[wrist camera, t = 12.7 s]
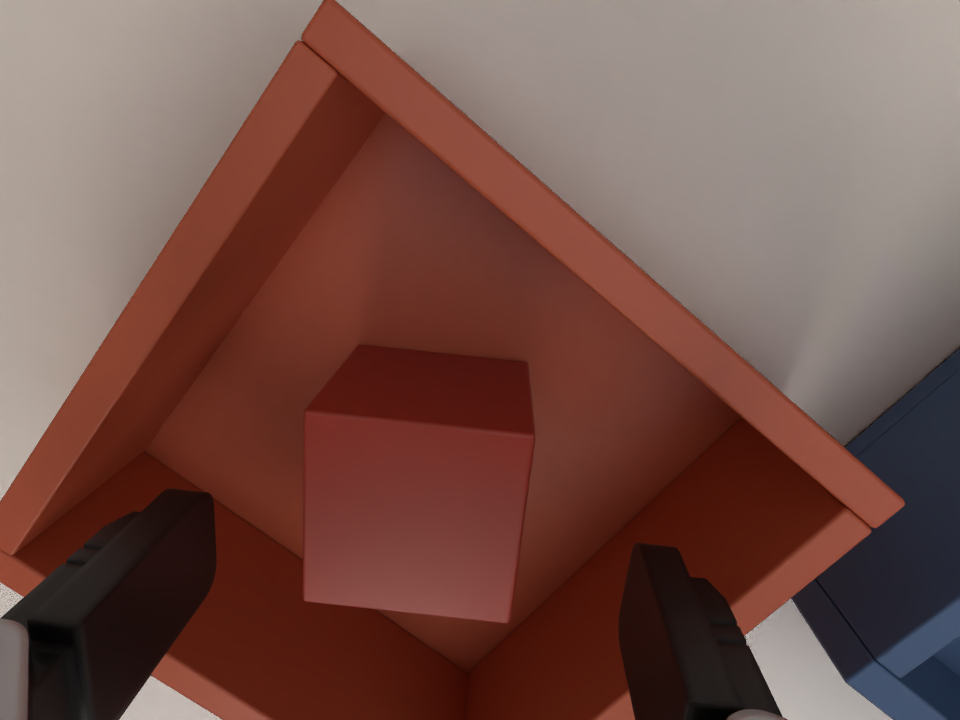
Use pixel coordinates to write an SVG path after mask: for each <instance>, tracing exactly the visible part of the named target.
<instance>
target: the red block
mask: <svg viewBox="0 0 960 720" xmlns="http://www.w3.org/2000/svg"><path fill="white" fill-rule="evenodd" d="M534 444H535V427H534V417H533V407H532V396H531V386H530V376H529V366H528V363H526V362H520V361H510V360H501V359H491V358H481V357H472V356H462V355H453V354H443V353H434V352H424V351H415V350H405V349H395V348H386V347H376V346H367V345H358V346H357V347H356V348H355V349H354V350H353V352H352V353H351V354H350V355H349V356H348V358H347V359H346V360H345V361H344V363H343V364H342V365H341V366H340V367H339V369H338V370H337V371H336V372H335V374H334V375H333V376H332V377H331V379H330V380H329V381H328V382H327V383H326V385H325V386H324V387H323V388H322V390H321V391H320V392H319V393H318V394H317V396H316V397H315V398H314V399H313V401H312V402H311V403H310V404H309V405H308V407H307V408H306V409H305V411H304V445H303V600H304V601H305V602H313V603H322V604H331V605H340V606H349V607H358V608H367V609H376V610H385V611H394V612H403V613H413V614H422V615H431V616H440V617H449V618H458V619H467V620H476V621H485V622H494V623H503V624H507V623H509V622H510V620H511V613H512V606H513V599H514V591H515V584H516V577H517V569H518V562H519V555H520V547H521V540H522V533H523V525H524V518H525V510H526V503H527V496H528V488H529V481H530V474H531V466H532V459H533V452H534Z"/></svg>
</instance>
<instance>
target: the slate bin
mask: <svg viewBox="0 0 960 720" xmlns="http://www.w3.org/2000/svg"><path fill="white" fill-rule="evenodd" d="M845 448H846V449H847V450H848V451H849V452H850V453H851V454H853V455H854V456H855V457H856V458H857V459H858V460H859V461H861V462H862V463H863V464H864V465H865V466H866V467H867V468H869V469H870V470H871V471H872V472H873V473H874V474H875V475H877V476H878V477H879V478H880V479H881V480H882V481H883V482H884V483H886V484H887V485H888V486H889V487H890V488H891V489H892V490H894V491H895V492H896V493H897V494H898V495H899V496H900V497H902V498H903V499H904V502H905V505H904V507H902V508H901V509H900V510H899V511H898V512H896V513H895V514H894V515H893V516H891V517H890V518H889V519H888V520H886V521H885V522H884V523H883V524H881V525H880V526H879V527H877V528H872V527H870V528H871V531H872V532H871V533H870V534H869V535H868V536H867V537H866V538H864V539H863V540H862V541H861V542H859V543H858V544H857V545H856V546H855V547H853V548H852V549H851V550H850V551H848V552H847V553H846V554H845V555H843V556H842V557H841V558H840V559H838V560H837V561H836V562H835V563H834V564H832V565H831V566H830V567H829V568H827V569H826V570H825V571H824V572H822V573H821V574H820V575H819V576H817V577H816V578H815V579H814V580H813V581H811V582H810V583H809V584H808V585H806V586H805V587H804V588H803V589H801V590H800V591H799V592H798V593H796V594H795V595H794V596H793V597H792V598H791V599H792V600H793V602H794V603H795V605H796V607H797V608H798V610H799V611H800V613H801V614H802V616H803V617H804V619H805V620H806V622H807V624H808V625H809V627H810V628H811V630H812V631H813V633H814V634H815V636H816V638H817V639H818V641H819V642H820V644H821V645H822V647H823V648H824V650H825V651H826V653H827V655H828V656H829V658H830V659H831V661H832V662H833V664H834V665H835V667H836V668H837V670H838V672H839V673H840V675H841V676H842V678H843V679H844V681H845V682H846V683H847V684H848V685H850V686H851V687H852V688H853V689H855V690H856V691H857V692H859V693H860V694H861V695H862V696H864V697H865V698H866V699H867V700H869V701H870V702H871V703H873V704H874V705H875V706H876V707H878V708H879V709H880V710H881V711H883V712H884V713H885V714H887V715H888V716H889V717H890V718H892V719H893V720H960V348H959V349H958V350H957V351H956V352H954V353H953V354H952V355H951V356H950V357H949V358H948V359H946V360H945V361H944V362H943V363H942V364H941V365H939V366H938V367H937V368H936V369H935V370H934V371H933V372H931V373H930V374H929V375H928V376H927V377H926V378H925V379H923V380H922V381H921V382H920V383H919V384H918V385H916V386H915V387H914V388H913V389H912V390H911V391H910V392H908V393H907V394H906V395H905V396H904V397H903V398H901V399H900V400H899V401H898V402H897V403H896V404H895V405H893V406H892V407H891V408H890V409H889V410H888V411H886V412H885V413H884V414H883V415H882V416H881V417H880V418H878V419H877V420H876V421H875V422H874V423H873V424H871V425H870V426H869V427H868V428H867V429H866V430H865V431H863V432H862V433H861V434H860V435H859V436H858V437H857V438H855V439H854V440H853V441H852V442H851V443H850V444H848V445H847V446H846V447H845Z"/></svg>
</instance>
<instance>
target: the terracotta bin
mask: <svg viewBox="0 0 960 720" xmlns="http://www.w3.org/2000/svg"><path fill="white" fill-rule="evenodd" d="M301 39H302V40H303V42H302V41H299V40H298V41H297V42H296V43H295V44H294V46H293V47H292V49H291V50H290V52H289V54H288V55H287V57H286V58H285V60H284V61H283V63H282V64H281V66H280V67H279V69H278V71H277V72H276V74H275V75H274V77H273V78H272V80H271V81H270V83H269V85H268V86H267V88H266V89H265V91H264V92H263V94H262V95H261V97H260V99H259V100H258V102H257V103H256V105H255V106H254V108H253V109H252V111H251V113H250V114H249V116H248V117H247V119H246V120H245V122H244V123H243V125H242V127H241V128H240V130H239V131H238V133H237V134H236V136H235V137H234V139H233V141H232V142H231V144H230V145H229V147H228V148H227V150H226V151H225V153H224V155H223V156H222V158H221V159H220V161H219V162H218V164H217V165H216V167H215V169H214V170H213V172H212V173H211V175H210V176H209V178H208V179H207V181H206V183H205V184H204V186H203V187H202V189H201V190H200V192H199V193H198V195H197V197H196V198H195V200H194V201H193V203H192V204H191V206H190V207H189V209H188V211H187V212H186V214H185V215H184V217H183V218H182V220H181V221H180V223H179V225H178V226H177V228H176V229H175V231H174V232H173V234H172V235H171V237H170V239H169V240H168V242H167V243H166V245H165V246H164V248H163V249H162V251H161V253H160V254H159V256H158V257H157V259H156V260H155V262H154V263H153V265H152V267H151V268H150V270H149V271H148V273H147V274H146V276H145V277H144V279H143V281H142V282H141V284H140V285H139V287H138V288H137V290H136V291H135V293H134V295H133V296H132V298H131V299H130V301H129V302H128V304H127V305H126V307H125V309H124V310H123V312H122V313H121V315H120V316H119V318H118V319H117V321H116V323H115V324H114V326H113V327H112V329H111V330H110V332H109V333H108V335H107V337H106V338H105V340H104V341H103V343H102V344H101V346H100V347H99V349H98V351H97V352H96V354H95V355H94V357H93V358H92V360H91V361H90V363H89V365H88V366H87V368H86V369H85V371H84V372H83V374H82V375H81V377H80V379H79V380H78V382H77V383H76V385H75V386H74V388H73V389H72V391H71V393H70V394H69V396H68V397H67V399H66V400H65V402H64V403H63V405H62V407H61V408H60V410H59V411H58V413H57V414H56V416H55V417H54V419H53V421H52V422H51V424H50V425H49V427H48V428H47V430H46V431H45V433H44V435H43V436H42V438H41V439H40V441H39V442H38V444H37V445H36V447H35V449H34V450H33V452H32V453H31V455H30V456H29V458H28V459H27V461H26V463H25V464H24V466H23V467H22V469H21V470H20V472H19V473H18V475H17V477H16V478H15V480H14V481H13V483H12V484H11V486H10V487H9V489H8V490H7V492H6V494H5V495H4V497H3V498H2V500H1V501H0V582H1V583H2V584H4V585H5V586H7V587H9V588H10V589H12V590H14V591H15V592H17V593H18V594H20V595H22V596H23V597H25V596H26V595H27V594H28V593H30V592H31V591H32V590H33V589H34V588H35V587H36V586H37V585H39V584H40V583H41V582H42V581H43V580H44V579H45V578H46V577H48V576H49V575H50V574H51V573H52V572H53V571H54V570H55V569H57V568H58V567H59V566H60V565H61V564H65V563H66V561H67V559H68V558H69V557H70V556H71V555H72V554H73V553H75V552H76V551H77V550H78V549H79V548H83V547H84V544H85V543H86V542H87V541H88V540H89V539H90V538H91V537H93V536H94V535H95V534H96V533H97V532H98V531H99V530H100V529H102V528H103V527H104V526H105V525H107V524H109V523H111V522H113V521H115V520H117V519H119V518H121V517H123V516H125V515H127V514H129V513H131V512H133V511H136V512H141V511H142V510H144V509H145V508H146V507H147V506H148V505H149V504H150V503H151V502H152V501H153V500H154V499H155V498H156V497H157V496H158V495H160V494H161V493H162V492H163V491H164V490H166V489H168V488H174V489H183V490H192V491H200V492H208V493H210V494H211V495H212V497H213V501H214V513H215V534H216V555H217V566H216V573H215V577H214V581H213V584H212V586H211V589H210V591H209V593H208V595H207V596H206V598H205V599H204V601H203V602H202V604H201V605H200V606H199V608H198V609H197V611H196V612H195V613H194V615H193V616H192V618H191V619H190V620H189V622H188V623H187V625H186V626H185V627H184V629H183V630H182V632H181V633H180V634H179V636H178V637H177V639H176V640H175V641H174V643H173V644H172V646H171V647H170V649H169V650H168V651H167V653H166V654H165V656H164V657H163V658H162V660H161V661H160V663H159V664H158V665H157V667H156V668H155V670H154V671H153V672H152V674H151V676H153V677H154V678H156V679H158V680H159V681H161V682H162V683H164V684H166V685H167V686H169V687H171V688H172V689H174V690H175V691H177V692H179V693H180V694H182V695H184V696H185V697H187V698H188V699H190V700H192V701H193V702H195V703H196V704H198V705H200V706H201V707H203V708H205V709H206V710H208V711H209V712H211V713H213V714H214V715H216V716H218V717H219V718H221V719H222V720H635V717H634V712H633V707H632V703H631V698H630V693H629V688H628V684H627V679H626V674H625V670H624V665H623V660H622V655H621V651H620V645H619V636H618V622H619V612H620V606H621V601H622V596H623V591H624V586H625V581H626V576H627V571H628V566H629V562H630V557H631V552H632V549H633V546H634V544H635V543H646V544H654V545H663V546H672V547H677V548H678V550H679V551H680V554H681V556H682V558H683V561H684V563H685V566H686V568H687V570H688V573H689V575H690V577H698V578H706V579H707V580H708V581H709V582H710V583H711V584H712V585H713V586H714V587H715V588H716V589H717V590H718V591H719V592H720V593H721V594H722V595H723V596H724V597H725V598H726V599H727V602H728V604H729V606H730V608H731V610H732V612H733V614H734V616H735V618H736V620H737V626H739V627H740V629H741V631H742V633H743V635H744V636H745V635H746V634H747V633H748V632H750V631H751V630H752V629H753V628H754V627H756V626H757V625H758V624H759V623H761V622H762V621H763V620H764V619H766V618H767V617H768V616H769V615H771V614H772V613H773V612H774V611H775V610H777V609H778V608H779V607H780V606H782V605H783V604H784V603H785V602H787V601H788V600H789V599H790V598H792V597H793V596H794V595H795V594H796V593H798V592H799V591H800V590H801V589H803V588H804V587H805V586H806V585H808V584H809V583H810V582H811V581H813V580H814V579H815V578H816V577H817V576H819V575H820V574H821V573H822V572H824V571H825V570H826V569H827V568H829V567H830V566H831V565H832V564H834V563H835V562H836V561H837V560H838V559H840V558H841V557H842V556H843V555H845V554H846V553H847V552H848V551H850V550H851V549H852V548H853V547H855V546H856V545H857V544H858V543H859V542H861V541H862V540H863V539H864V538H866V537H867V536H868V535H869V534H870V533H871V532H872V531H871V528H870V527H872V528H877V527H879V526H880V525H881V524H883V523H884V522H885V521H886V520H888V519H889V518H890V517H891V516H893V515H894V514H895V513H896V512H898V511H899V510H900V509H901V508H902V507H904V505H905V502H904V499H903V498H902V497H900V496H899V495H898V494H897V493H896V492H895V491H894V490H892V489H891V488H890V487H889V486H888V485H887V484H886V483H884V482H883V481H882V480H881V479H880V478H879V477H878V476H877V475H875V474H874V473H873V472H872V471H871V470H870V469H869V468H867V467H866V466H865V465H864V464H863V463H862V462H861V461H859V460H858V459H857V458H856V457H855V456H854V455H853V454H851V453H850V452H849V451H848V450H847V449H846V448H845V447H843V446H842V445H841V444H840V443H839V442H838V441H837V440H835V439H834V438H833V437H832V436H831V435H830V434H829V433H827V432H826V431H825V430H824V429H823V428H822V427H821V426H820V425H818V424H817V423H816V422H815V421H814V420H813V419H812V418H810V417H809V416H808V415H807V414H806V413H805V412H804V411H802V410H801V409H800V408H799V407H798V406H797V405H796V404H794V403H793V402H792V401H791V400H790V399H789V398H788V397H786V396H785V395H784V394H783V393H782V392H781V391H780V390H778V389H777V388H776V387H775V386H774V385H773V384H772V383H771V382H769V381H768V380H767V379H766V378H765V377H764V376H763V375H761V374H760V373H759V372H758V371H757V370H756V369H755V368H753V367H752V366H751V365H750V364H749V363H748V362H747V361H745V360H744V359H743V358H742V357H741V356H740V355H739V354H737V353H736V352H735V351H734V350H733V349H732V348H731V347H729V346H728V345H727V344H726V343H725V342H724V341H723V340H722V339H720V338H719V337H718V336H717V335H716V334H715V333H714V332H712V331H711V330H710V329H709V328H708V327H707V326H706V325H704V324H703V323H702V322H701V321H700V320H699V319H698V318H696V317H695V316H694V315H693V314H692V313H691V312H690V311H688V310H687V309H686V308H685V307H684V306H683V305H682V304H680V303H679V302H678V301H677V300H676V299H675V298H674V297H673V296H671V295H670V294H669V293H668V292H667V291H666V290H665V289H663V288H662V287H661V286H660V285H659V284H658V283H657V282H655V281H654V280H653V279H652V278H651V277H650V276H649V275H647V274H646V273H645V272H644V271H643V270H642V269H641V268H639V267H638V266H637V265H636V264H635V263H634V262H633V261H631V260H630V259H629V258H628V257H627V256H626V255H625V254H623V253H622V252H621V251H620V250H619V249H618V248H617V247H616V246H614V245H613V244H612V243H611V242H610V241H609V240H608V239H606V238H605V237H604V236H603V235H602V234H601V233H600V232H598V231H597V230H596V229H595V228H594V227H593V226H592V225H590V224H589V223H588V222H587V221H586V220H585V219H584V218H582V217H581V216H580V215H579V214H578V213H577V212H576V211H574V210H573V209H572V208H571V207H570V206H569V205H568V204H567V203H565V202H564V201H563V200H562V199H561V198H560V197H559V196H557V195H556V194H555V193H554V192H553V191H552V190H551V189H549V188H548V187H547V186H546V185H545V184H544V183H543V182H541V181H540V180H539V179H538V178H537V177H536V176H535V175H533V174H532V173H531V172H530V171H529V170H528V169H527V168H525V167H524V166H523V165H522V164H521V163H520V162H519V161H518V160H516V159H515V158H514V157H513V156H512V155H511V154H510V153H508V152H507V151H506V150H505V149H504V148H503V147H502V146H500V145H499V144H498V143H497V142H496V141H495V140H494V139H492V138H491V137H490V136H489V135H488V134H487V133H486V132H484V131H483V130H482V129H481V128H480V127H479V126H478V125H476V124H475V123H474V122H473V121H472V120H471V119H470V118H468V117H467V116H466V115H465V114H464V113H463V112H462V111H461V110H459V109H458V108H457V107H456V106H455V105H454V104H453V103H451V102H450V101H449V100H448V99H447V98H446V97H445V96H443V95H442V94H441V93H440V92H439V91H438V90H437V89H435V88H434V87H433V86H432V85H431V84H430V83H429V82H427V81H426V80H425V79H424V78H423V77H422V76H421V75H419V74H418V73H417V72H416V71H415V70H414V69H413V68H412V67H410V66H409V65H408V64H407V63H406V62H405V61H404V60H402V59H401V58H400V57H399V56H398V55H397V54H396V53H394V52H393V51H392V50H391V49H390V48H389V47H388V46H386V45H385V44H384V43H383V42H382V41H381V40H380V39H378V38H377V37H376V36H375V35H374V34H373V33H372V32H370V31H369V30H368V29H367V28H366V27H365V26H364V25H363V24H361V23H360V22H359V21H358V20H357V19H356V18H355V17H353V16H352V15H351V14H350V13H349V12H348V11H347V10H345V9H344V8H343V7H342V6H341V5H340V4H339V3H337V2H336V1H335V0H324V1H323V2H322V4H321V5H320V7H319V8H318V10H317V12H316V13H315V15H314V16H313V18H312V19H311V21H310V22H309V24H308V26H307V27H306V29H305V30H304V32H303V33H302V37H301ZM358 345H367V346H376V347H386V348H395V349H405V350H415V351H424V352H434V353H443V354H453V355H462V356H472V357H481V358H491V359H501V360H510V361H520V362H526V363H528V366H529V376H530V386H531V396H532V407H533V417H534V427H535V444H534V452H533V459H532V466H531V474H530V481H529V488H528V496H527V503H526V510H525V518H524V525H523V533H522V540H521V547H520V555H519V562H518V569H517V577H516V584H515V591H514V599H513V606H512V613H511V620H510V622H509V623H507V624H503V623H494V622H485V621H476V620H467V619H458V618H449V617H440V616H431V615H422V614H413V613H403V612H394V611H385V610H376V609H367V608H358V607H349V606H340V605H331V604H322V603H313V602H305V601H304V600H303V445H304V411H305V409H306V408H307V407H308V405H309V404H310V403H311V402H312V401H313V399H314V398H315V397H316V396H317V394H318V393H319V392H320V391H321V390H322V388H323V387H324V386H325V385H326V383H327V382H328V381H329V380H330V379H331V377H332V376H333V375H334V374H335V372H336V371H337V370H338V369H339V367H340V366H341V365H342V364H343V363H344V361H345V360H346V359H347V358H348V356H349V355H350V354H351V353H352V352H353V350H354V349H355V348H356V347H357V346H358Z"/></svg>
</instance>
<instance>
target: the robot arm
mask: <svg viewBox="0 0 960 720" xmlns="http://www.w3.org/2000/svg"><path fill="white" fill-rule="evenodd" d="M216 566H217V555H216V534H215V513H214V501H213V497H212V495H211V494H210V493H208V492H200V491H192V490H183V489H174V488H168V489H166V490H164V491H163V492H162V493H161V494H160V495H158V496H157V497H156V498H155V499H154V500H153V501H152V502H151V503H150V504H149V505H148V506H147V507H146V508H145V509H144V510H142V511H141V512H136V511H133V512H131V513H129V514H127V515H125V516H123V517H121V518H119V519H117V520H115V521H113V522H111V523H109V524H107V525H105V526H104V527H103V528H102V529H100V530H99V531H98V532H97V533H96V534H95V535H94V536H93V537H91V538H90V539H89V540H88V541H87V542H86V543H85V544H84V547H83V548H79V549H78V550H77V551H76V552H75V553H73V554H72V555H71V556H70V557H69V558H68V559H67V561H66V563H65V564H61V565H60V566H59V567H58V568H57V569H55V570H54V571H53V572H52V573H51V574H50V575H49V576H48V577H46V578H45V579H44V580H43V581H42V582H41V583H40V584H39V585H37V586H36V587H35V588H34V589H33V590H32V591H31V592H30V593H28V594H27V595H26V596H25V597H24V598H23V599H22V600H20V601H19V602H18V603H17V604H16V605H15V606H14V607H13V608H11V609H10V610H9V611H8V612H7V613H6V614H5V615H4V616H2V617H1V618H0V720H119V719H120V717H121V716H122V715H123V713H124V712H125V710H126V709H127V708H128V706H129V705H130V703H131V702H132V701H133V699H134V698H135V696H136V695H137V694H138V692H139V691H140V689H141V688H142V687H143V685H144V684H145V682H146V681H147V679H148V678H149V677H150V675H151V674H152V672H153V671H154V670H155V668H156V667H157V665H158V664H159V663H160V661H161V660H162V658H163V657H164V656H165V654H166V653H167V651H168V650H169V649H170V647H171V646H172V644H173V643H174V641H175V640H176V639H177V637H178V636H179V634H180V633H181V632H182V630H183V629H184V627H185V626H186V625H187V623H188V622H189V620H190V619H191V618H192V616H193V615H194V613H195V612H196V611H197V609H198V608H199V606H200V605H201V604H202V602H203V601H204V599H205V598H206V596H207V595H208V593H209V591H210V589H211V586H212V584H213V581H214V577H215V573H216ZM618 636H619V645H620V651H621V655H622V660H623V665H624V670H625V674H626V679H627V684H628V688H629V693H630V698H631V703H632V707H633V712H634V717H635V720H787V719H785V718H783V717H782V715H781V713H780V710H779V708H778V706H777V704H776V702H775V700H774V698H773V696H772V694H771V692H770V690H769V687H768V685H767V683H766V681H765V679H764V677H763V675H762V673H761V671H760V669H759V666H758V664H757V662H756V660H755V658H754V656H753V654H752V652H751V650H750V648H749V646H747V645H746V639H745V637H744V635H743V633H742V631H741V629H740V627H739V626H737V620H736V618H735V616H734V614H733V612H732V610H731V608H730V606H729V604H728V602H727V599H726V598H725V597H724V596H723V595H722V594H721V593H720V592H719V591H718V590H717V589H716V588H715V587H714V586H713V585H712V584H711V583H710V582H709V581H708V580H707V579H706V578H698V577H690V575H689V573H688V570H687V568H686V566H685V563H684V561H683V558H682V556H681V554H680V551H679V550H678V548H677V547H672V546H663V545H654V544H646V543H635V544H634V546H633V549H632V552H631V557H630V562H629V566H628V571H627V576H626V581H625V586H624V591H623V596H622V601H621V606H620V612H619V622H618Z"/></svg>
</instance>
